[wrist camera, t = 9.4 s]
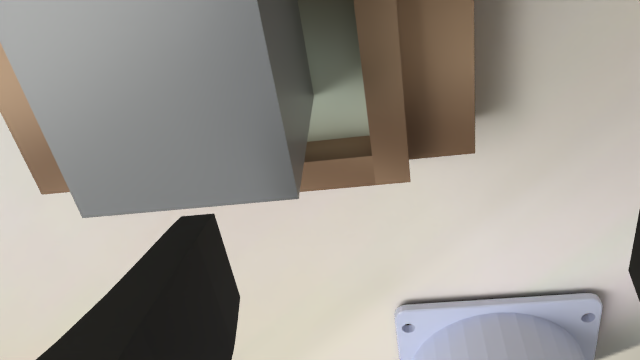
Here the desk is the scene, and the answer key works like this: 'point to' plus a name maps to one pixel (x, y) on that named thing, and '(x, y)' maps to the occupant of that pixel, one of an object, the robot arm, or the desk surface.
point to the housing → (165, 98)
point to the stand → (346, 92)
